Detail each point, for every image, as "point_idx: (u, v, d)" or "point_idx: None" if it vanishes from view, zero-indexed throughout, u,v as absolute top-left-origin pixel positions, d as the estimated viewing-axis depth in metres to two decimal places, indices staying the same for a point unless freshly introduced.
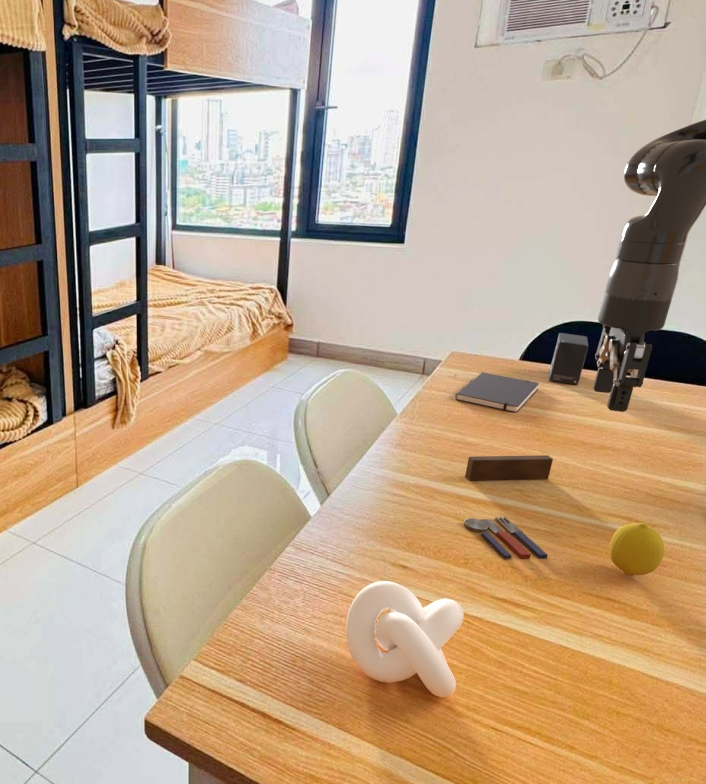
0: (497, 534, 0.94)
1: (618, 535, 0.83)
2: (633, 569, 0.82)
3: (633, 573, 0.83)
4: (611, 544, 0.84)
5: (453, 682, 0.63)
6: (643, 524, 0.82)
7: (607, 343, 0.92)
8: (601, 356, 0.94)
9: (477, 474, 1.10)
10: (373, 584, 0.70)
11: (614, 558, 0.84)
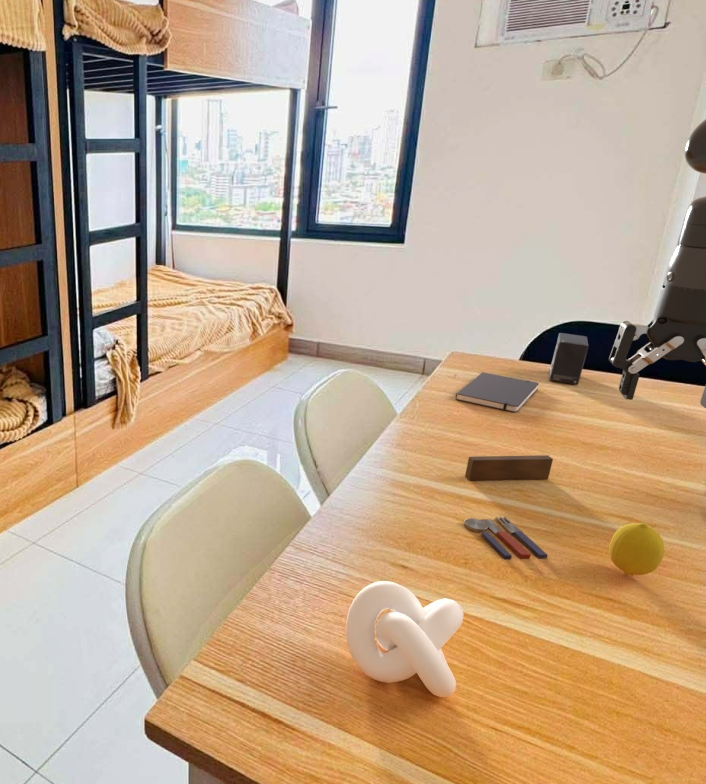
0: (497, 534, 0.94)
1: (618, 535, 0.83)
2: (633, 569, 0.82)
3: (633, 573, 0.83)
4: (611, 544, 0.84)
5: (453, 682, 0.63)
6: (643, 524, 0.82)
7: (680, 344, 0.81)
8: None
9: (477, 474, 1.10)
10: (373, 584, 0.70)
11: (614, 558, 0.84)
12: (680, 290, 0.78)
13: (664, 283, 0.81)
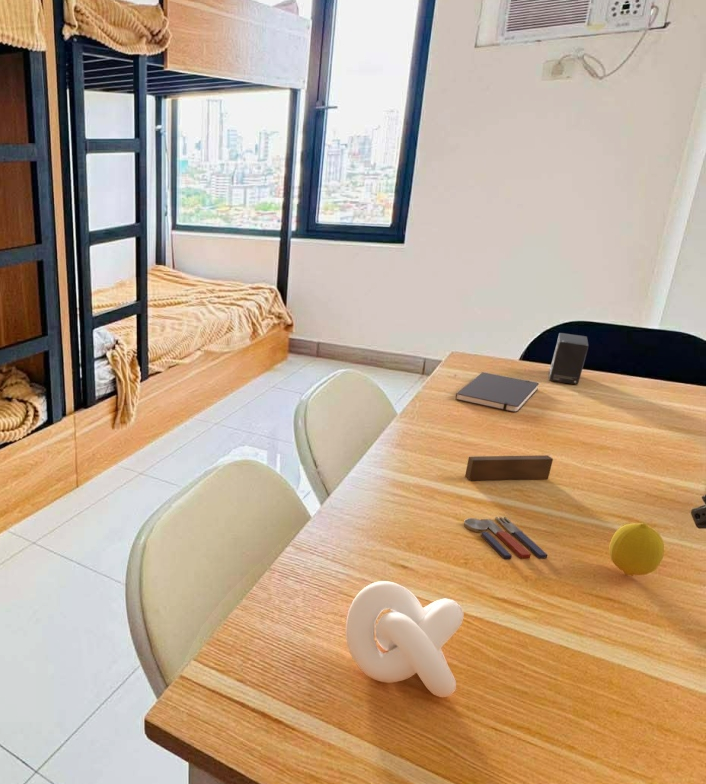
0: (497, 534, 0.94)
1: (618, 535, 0.83)
2: (633, 569, 0.82)
3: (633, 573, 0.83)
4: (611, 544, 0.84)
5: (453, 682, 0.63)
6: (643, 524, 0.82)
7: None
8: None
9: (477, 474, 1.10)
10: (373, 584, 0.70)
11: (614, 558, 0.84)
12: None
13: None
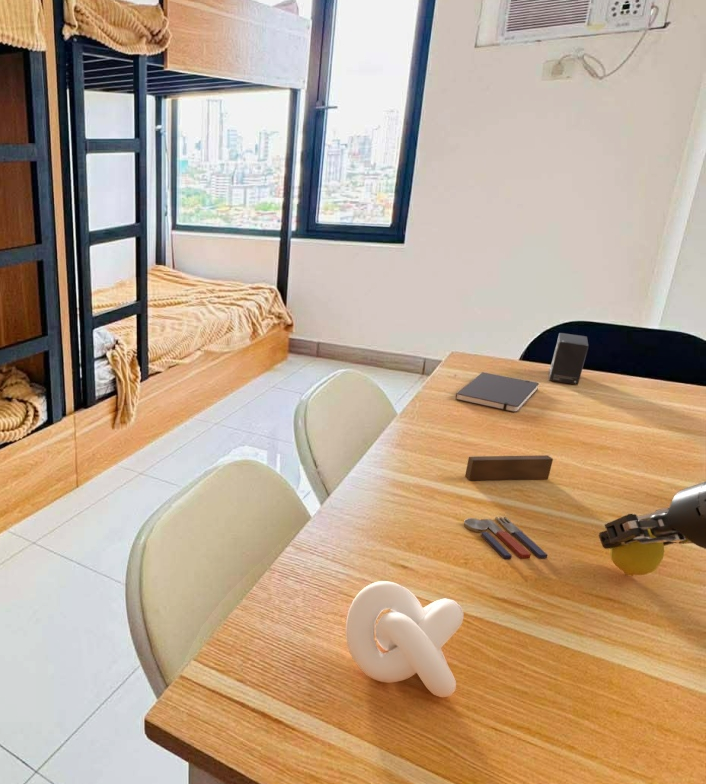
0: (497, 534, 0.94)
1: None
2: (633, 569, 0.82)
3: (633, 573, 0.83)
4: None
5: (453, 682, 0.63)
6: None
7: None
8: None
9: (477, 474, 1.10)
10: (373, 584, 0.70)
11: (614, 558, 0.84)
12: None
13: (701, 510, 0.70)
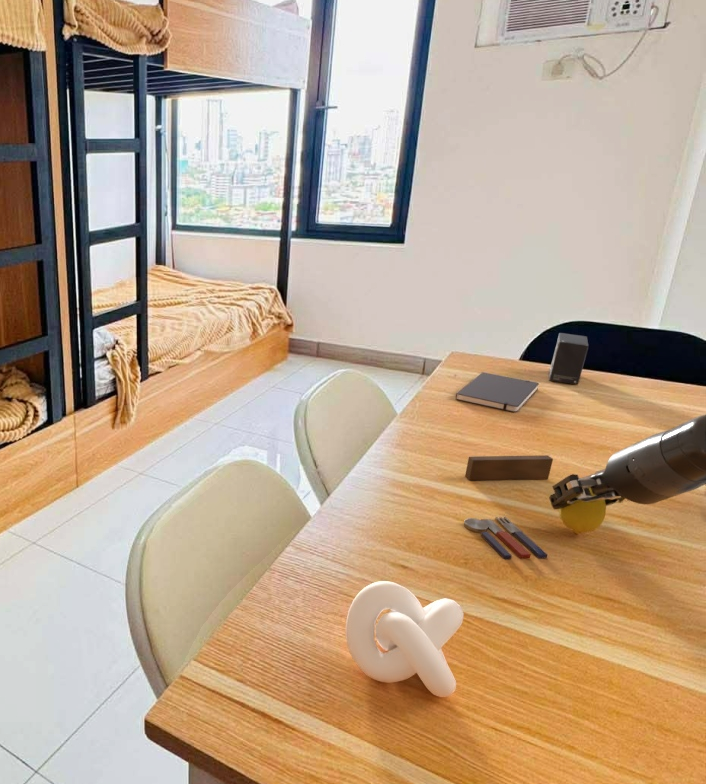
0: (497, 534, 0.94)
1: None
2: (579, 526, 0.91)
3: (579, 530, 0.92)
4: None
5: (453, 682, 0.63)
6: None
7: (616, 496, 0.85)
8: None
9: (477, 474, 1.10)
10: (373, 584, 0.70)
11: (563, 517, 0.93)
12: (643, 488, 0.79)
13: (629, 467, 0.80)
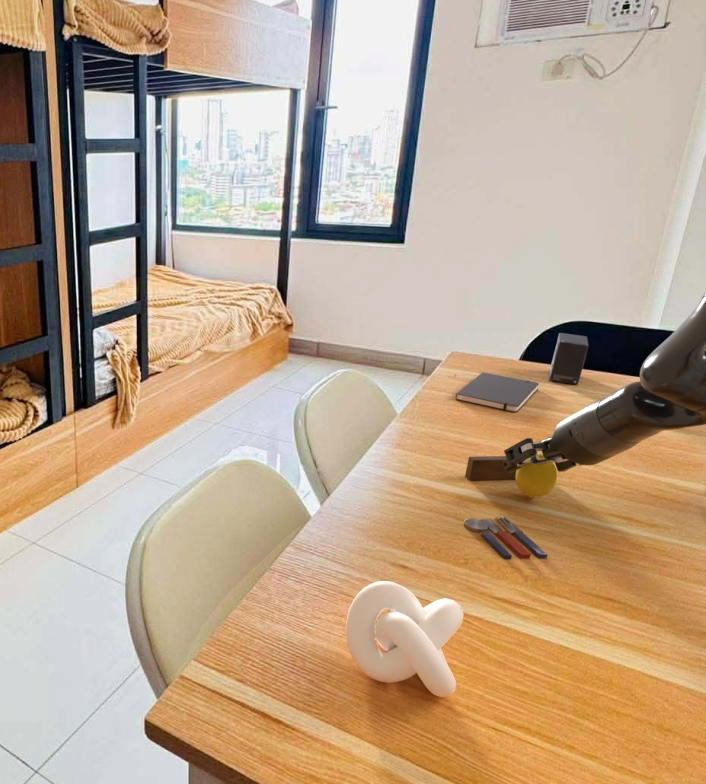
0: (497, 534, 0.94)
1: None
2: (532, 491, 1.01)
3: (533, 495, 1.02)
4: (516, 472, 1.04)
5: (453, 682, 0.63)
6: (540, 455, 1.01)
7: (563, 460, 0.95)
8: None
9: (477, 474, 1.10)
10: (373, 584, 0.70)
11: (518, 483, 1.03)
12: (583, 450, 0.88)
13: (572, 431, 0.89)
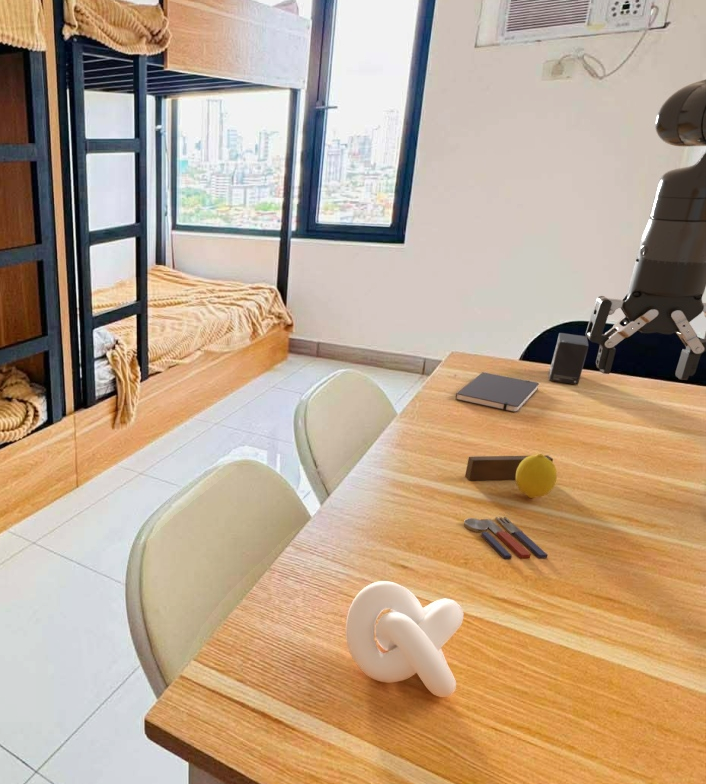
0: (497, 534, 0.94)
1: (521, 465, 1.03)
2: (532, 491, 1.01)
3: (533, 495, 1.02)
4: (516, 472, 1.04)
5: (453, 682, 0.63)
6: (540, 455, 1.01)
7: (654, 317, 0.81)
8: (630, 334, 0.83)
9: (477, 474, 1.10)
10: (373, 584, 0.70)
11: (518, 483, 1.03)
12: (653, 263, 0.79)
13: (638, 257, 0.81)
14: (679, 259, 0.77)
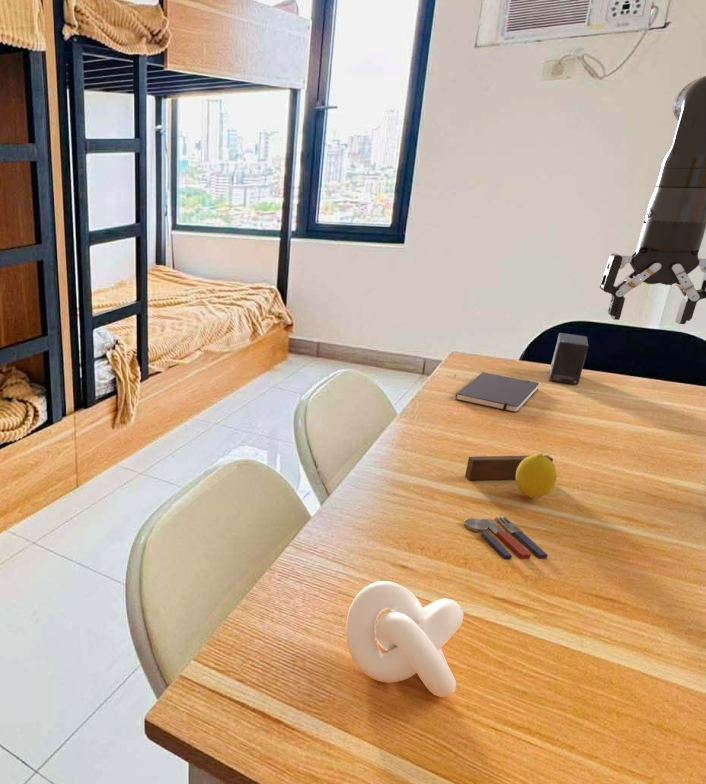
0: (497, 534, 0.94)
1: (521, 465, 1.03)
2: (532, 491, 1.01)
3: (533, 495, 1.02)
4: (516, 472, 1.04)
5: (453, 682, 0.63)
6: (540, 455, 1.01)
7: (658, 269, 0.98)
8: (637, 285, 0.99)
9: (477, 474, 1.10)
10: (373, 584, 0.70)
11: (518, 483, 1.03)
12: (658, 223, 0.95)
13: (645, 219, 0.98)
14: (679, 219, 0.93)
